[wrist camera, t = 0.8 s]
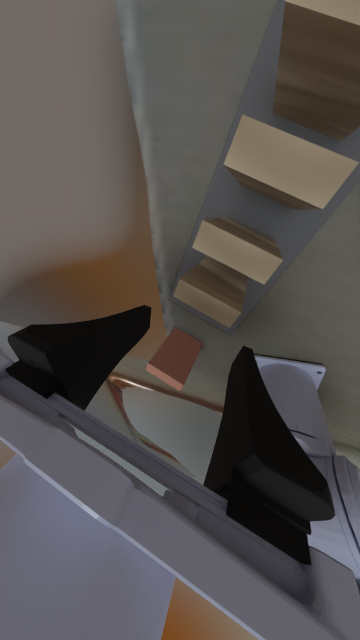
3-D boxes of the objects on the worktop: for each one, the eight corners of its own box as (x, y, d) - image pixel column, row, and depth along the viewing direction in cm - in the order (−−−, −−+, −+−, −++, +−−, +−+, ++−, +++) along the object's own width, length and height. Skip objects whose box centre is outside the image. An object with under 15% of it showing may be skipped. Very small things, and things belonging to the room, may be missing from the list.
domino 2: (240, 288, 19) (229, 328, 12) (201, 268, 19) (173, 296, 13) (248, 276, 18) (241, 312, 11) (207, 255, 18) (179, 278, 12)
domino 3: (294, 209, 13) (322, 209, 7) (240, 184, 14) (223, 164, 8) (311, 186, 12) (359, 162, 6) (251, 159, 13) (242, 114, 7)
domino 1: (263, 256, 16) (264, 284, 10) (217, 233, 16) (192, 247, 10) (274, 239, 15) (283, 259, 9) (226, 216, 15) (202, 219, 9)
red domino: (198, 349, 26) (179, 391, 20) (172, 333, 27) (145, 369, 21) (202, 343, 25) (184, 385, 19) (175, 327, 26) (148, 363, 20)
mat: (231, 334, 22) (231, 335, 22) (169, 299, 23) (168, 300, 23) (454, 61, 8) (460, 58, 8) (277, 3, 9) (278, -2, 9)
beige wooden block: (341, 141, 11) (444, 52, 5) (272, 113, 11) (285, 1, 5) (366, 104, 10) (538, -68, 4) (289, 75, 10) (330, -118, 4)
